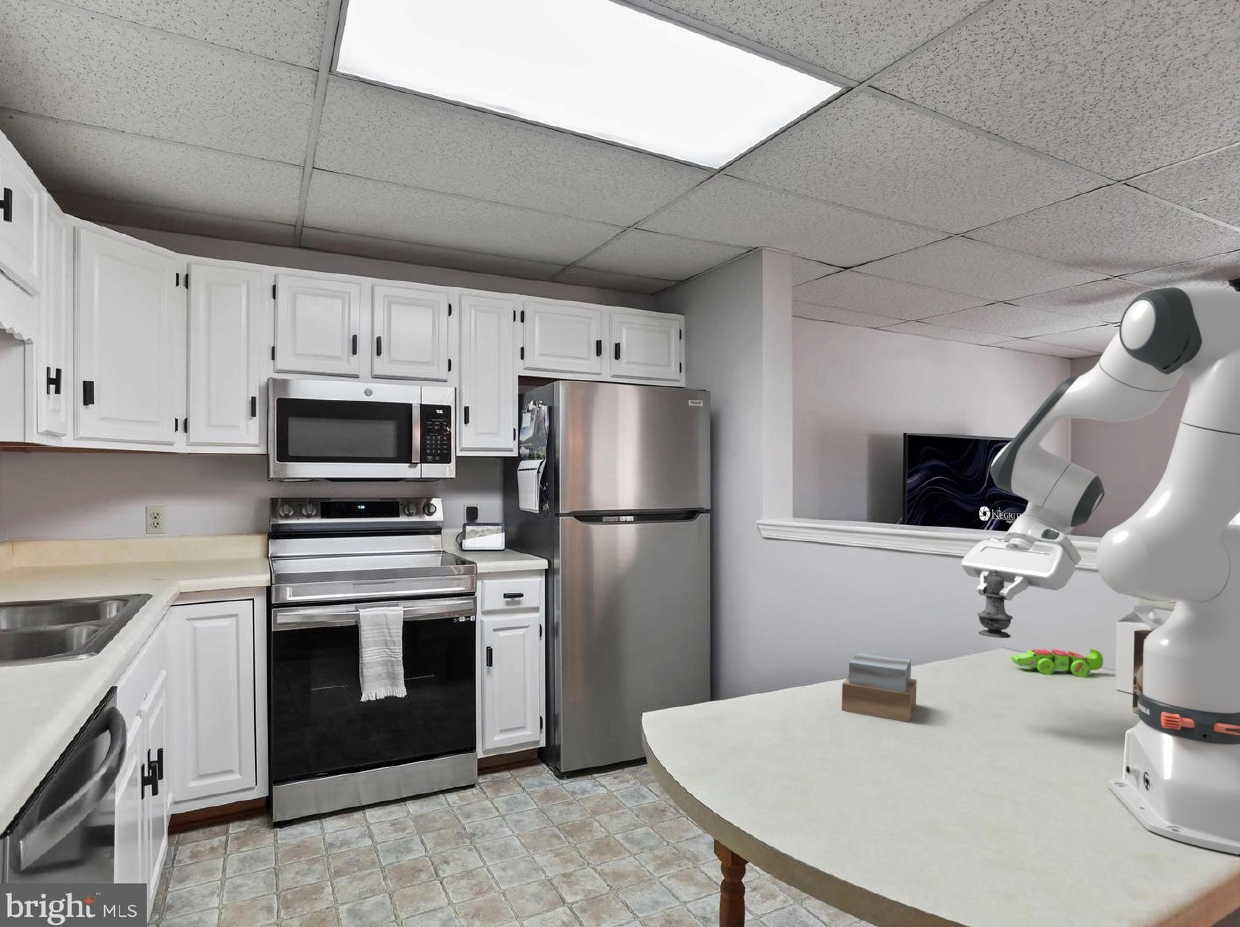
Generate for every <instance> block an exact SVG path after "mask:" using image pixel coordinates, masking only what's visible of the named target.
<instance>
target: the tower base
mask: <svg viewBox="0 0 1240 927" xmlns="http://www.w3.org/2000/svg"><path fill="white" fill-rule="evenodd" d="M848 667H849V668H848V676H847V677H846V678H845V680H844V681H843V682H842V684H841V685H842V686H841V690H842V691H841V711H843V710H845V711H844V712H850V713H856V714H861V715H866V714H869V715H868V716H872V715H874V716H873V717H878V716H879V718H883V717H884V718H885V719H890V720H895V721H896V720H897V721H901V720H902V721H901V722H906V723H909V722H910V721H911V720H912V716H913V714H914V711H915V709H916V706H917V681H918V680H917V679H916V678H912V677H911V674H912V659H911V658H905V657H904V658H903V657H899V656H898V657H896V656H891V655H890V656H888V655H882V654H875V653H874V654H873V653H867V652H860V651H858V652H857V653H856V654H855V655H854V656H853V658H851V659H850V661H849V664H848Z"/></svg>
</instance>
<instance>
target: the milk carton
mask: <svg viewBox="0 0 1240 927" xmlns="http://www.w3.org/2000/svg"><path fill="white" fill-rule="evenodd" d="M1154 606H1155V605H1154V604H1145V605H1144V604H1143V605H1141V604H1140V605H1133V607H1132V610H1133V611H1131V612H1130V613H1127V614H1126V615H1125V616H1123V617H1121V618H1120V619H1119V620H1117V621H1116V630H1115V631H1116V632H1115V635H1116V638H1115V639H1116V640H1115V683H1114V684H1115V686H1114V688H1115V690H1116V691H1121V692H1124V693H1127V694H1130V695H1133V667H1134V631H1137V630H1150V631H1152V630H1155V629H1157V628H1158V627H1160V626H1161V625H1163V624H1164V623H1165V622H1166V621H1167V620H1165V619H1164V618H1163V617H1162V616H1161V615H1160V614H1159V613H1158V612H1157V611H1156V610H1155V608H1154Z"/></svg>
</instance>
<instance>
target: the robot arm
mask: <svg viewBox="0 0 1240 927" xmlns="http://www.w3.org/2000/svg"><path fill="white" fill-rule="evenodd" d="M1118 329H1119V330H1118V331H1117V332H1116V334H1115V335H1114V336H1113V338H1112V339H1111V340H1110V342H1109V344H1108V345H1107V346H1106V348H1105V349H1104V351H1103V353H1102V355H1101V356H1100V358H1099V359H1098V362H1096V364H1095V365H1094V366H1093V367H1092V368H1091V369H1090V370H1089V371H1087V372H1085V373H1083V374H1082V375H1070V376H1068V377H1067V378H1066V379H1065V380H1063V381H1062V382H1061V383H1060V384H1059V385H1057V386H1056V388H1055V389H1054V390H1053V391H1052V392H1051V393H1050V394H1049V396H1048V397H1047V398H1046V399H1045V400H1044V401H1043V403H1041V405H1039V408H1037V410H1036V411H1035V413H1034V414H1033V415H1032V416H1031V417H1030V419H1029V420H1028V421H1027V422H1026V424H1025V425H1024V426H1023V427H1022V428H1021V429H1020V430H1019V432H1018V433H1017V434H1016V436H1015V437H1014V438H1013V439H1012V440H1010V442H1008V443H1007V444H1006V445H1005V446H1003V448H1001V449H1000V451H999V452H998V453H997V455H995V457H994V459H993V461H992V463H991V465H990V470H989V471H990V475H991V478H992V479H993V482H994V484H995V486H996V487H997V488H999V489H1001V490H1004V491H1005V492H1008V493H1011V494H1012V495H1017V496H1019V497H1021V499H1025V500H1027V501H1029V502H1028V503H1027V506H1026V508H1025V511H1024V512H1023V513H1022V514H1020V515H1018V517H1017V518H1016V519H1015V521H1013V523H1012V525H1011V526H1010V527H1009V529H1008V530H1007V532H1006V533H1005V534H1004V536H1003V538H996V537H990V538H988V539H985V540H981V541H980V542H978V543H977V544H975V545H974V546H973V547H972V548H971V549H970V550H969V551H968V552H967V554H966V555H964V557H963V558H962V559H961V561H960V565H961V567H962V569H963V570H964V572H965V573H966V575H967V576H969V577H972V578H977V579H979V581H980V582H979V585H978V586H977V587H976V590H975V591H976V592H977V593H978V595H979V596H984V597H986V595H984V594H985V593H987V578H988V576H990V575H993V574H994V571H995V570H996V571H997V572H998V573H997V575H999V576H1001V577H1003V579H1004V583H1008V584H1010V585H1009V586H1007V587H1006V586H1004V587H1003V588H1002V591H1000V593H999V595H1000V596H1001V597H1002V599H1004V601H1008V602H1009V601H1013V599H1014V597H1015V596H1016V595H1018V594H1020V593H1022V592H1023V591H1026V590H1027V588H1029V587H1032V588H1038V589H1044V590H1052V591H1058V590H1059V591H1060V590H1061V589H1063V588H1065V587H1066V585H1067V584H1068V582H1069V581H1070V579H1071V578H1072V576H1073V575H1074V573H1075V570H1076V566H1077V565H1078V564H1079V563H1080V562H1081V560H1082V557H1081V554H1080V553H1079V551H1078V549H1077V548H1076V546H1075V544H1073V542H1072V540H1070V538H1069V537H1068V536H1067V535H1068V533H1070V532H1071V531H1073V529H1074V528H1076V527H1078V526H1079V527H1080V526H1082V525H1084V524H1086V523H1087V522H1088V521H1089V519H1090V517H1091V515H1092V513H1093V512H1094V511H1095V510H1096V508H1097V507H1099V505H1100V504H1101V502H1102V501H1103V499H1104V497H1105V494H1106V493H1105V488H1104V484H1103V482H1102V480H1101V478H1100V476H1099V475H1097V474H1095V473H1094V472H1092V471H1091V470H1089V469H1086V468H1084V467H1083V466H1080V465H1078V464H1076V463H1074V462H1071V461H1068V460H1067V459H1064V458H1063V457H1060V456H1058V455H1056V454H1054V453H1052V452H1049V451H1047V450H1046V449H1044V448H1043V447H1042V446H1041V445H1040V443H1041V442H1042V441H1043V440H1044V438H1046V436H1047V435H1048V434H1049V433H1050V432H1051V430H1052V429H1054V427H1055V426H1056V425H1057V424H1058V423H1059V422H1061V421H1063V420H1067V419H1083V420H1084V419H1085V420H1086V419H1087V420H1094V421H1102V422H1110V423H1111V422H1112V423H1120V422H1121V423H1123V422H1131V421H1135V420H1139V419H1143V418H1145V417H1147V416H1149V415H1152V414H1153V413H1155V412H1156V411H1157V409H1158V408H1160V406H1161V405H1162V404H1163V403H1164V402H1165V400H1167V399H1168V397H1169V395H1170V394H1171V393H1172V391H1173V390H1174V389H1175V387H1176V386H1177V384H1178V382H1179V380H1180V379H1181V377H1182V375H1183V374H1184V375H1185V376H1186V378H1187V380H1188V383H1189V389H1188V390H1189V391H1188V397H1187V400H1186V402H1185V405H1184V408H1183V410H1182V415H1181V418H1180V423H1179V426H1178V429H1177V433H1176V437H1175V439H1174V440H1175V441H1174V443H1173V447H1172V449H1171V453H1170V456H1169V460H1168V463H1167V465H1166V469H1165V471H1164V473H1163V475H1162V477H1161V479H1160V481H1159V483H1158V484H1157V486H1156V487H1155V489H1153V492H1152V493H1151V494H1150V495H1149V497H1148V498H1147V499H1146V501H1145V502H1144V503H1143V504H1142V505H1141V506H1140V507H1139V508H1138V510H1137V511H1135V512H1134V514H1133V515H1131V516H1130V517H1129V518H1128V519H1126V520H1125V521H1123V522H1121V523H1120V524H1119V525H1117V526H1115V527H1113V528H1111V529H1109V530H1108V531H1106V533H1105V534H1103V536H1102V537H1101V539H1100V541H1099V543H1098V544H1097V548H1096V551H1095V564H1096V568H1097V571H1098V573H1099V576H1100V577H1101V579H1102V580H1103V581H1104V584H1106V586H1108V588H1110V589H1111V590H1112V591H1114V592H1116V593H1118V594H1121V595H1126V596H1129V597H1133V598H1137V599H1143V600H1146V601H1153V602H1176V603H1175V605H1174V608H1173V610H1172V612H1171V614H1170V615H1169V617H1168V618H1167V620H1165V621H1166V622H1165V623H1164V624H1163V625H1161V626H1160V627H1158V628H1157V629H1155V630H1154V631H1152V632H1151V633H1150V634H1149V635H1148V636H1147V638H1146V639H1145V642H1144V651H1143V691H1142V692H1140V693H1139V700H1138V713H1137V716H1138V718H1139V721H1138V722H1137V724H1135V725H1134V726H1133V727H1130V728H1129V729H1128V730H1126V731H1125V738H1124V750H1123V764H1122V765H1123V766H1122V767H1123V768H1122V777H1116V778H1115V777H1114V778H1110V779H1109V780H1108V784H1107V785H1108V788H1109V789H1110V791H1111V792H1113V794H1114V795H1115V796H1116V797H1117V798H1118V799H1119V800H1120V801H1121V802H1122V803H1123V805H1124V806H1125V807H1126V808H1127V809H1128V810H1129V812H1131V814H1133V816H1134V817H1135V818H1136V819H1137V820H1138V822H1140V823H1141V824H1142V825H1143V826H1144V827H1145V829H1147V830H1148V831H1150V832H1152V833H1155V834H1158V835H1161V836H1163V837H1165V838H1166V837H1167V838H1170V839H1171V840H1172V839H1173V840H1176V841H1179V842H1182V843H1186V844H1190V845H1193V846H1198V847H1201V848H1206V849H1211V850H1215V851H1219V852H1224V853H1228V854H1234V855H1239V854H1240V524H1230V522H1231V521H1232V520H1233V519H1234V518H1235V517H1236V516H1237V515H1238V514H1239V513H1240V291H1236V290H1230V289H1229V290H1228V289H1226V288H1217V287H1216V288H1215V287H1213V288H1210V287H1204V288H1203V287H1202V288H1201V287H1200V288H1199V287H1197V288H1196V287H1195V288H1192V287H1191V288H1178V287H1163V288H1155V289H1150V290H1148V291H1144V292H1142V293H1140V294H1139V295H1137V296H1136V297H1134V299H1133V300H1132V301H1131V302H1130V303H1129V305H1127V307H1126V309H1125V310H1124V312H1123V314H1122V317H1121V319H1120V323H1119V328H1118Z"/></svg>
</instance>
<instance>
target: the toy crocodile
mask: <svg viewBox="0 0 1240 927" xmlns="http://www.w3.org/2000/svg"><path fill="white" fill-rule="evenodd" d="M1089 649H1090V650H1089V651H1090V652H1089V654H1087V655H1081V654H1079V653H1076V652H1073V651H1068V652H1066V651H1065V650H1064V649H1059V650H1058V649H1057V648H1056V649H1052V650H1051V651H1050V650H1047V649H1045V648H1044V649H1041V648H1040V649H1039V648H1038V649H1035V648H1034V649H1031V650H1030V649H1027V650H1026V652H1024V653H1019V654H1011V655H1010V656H1011V657H1010V659H1011V660H1012V662H1013V663H1014V664H1015V665H1017V666H1019V667H1021V668H1031V669H1033V670H1038V672H1039V673H1041V674H1043V675H1046V676H1047V675H1048V676H1049V675H1052V674H1053V673H1054V672H1055V670H1060V671H1067V672H1069V673H1072V675H1074V676H1075V677H1078V678H1087V677H1088V676H1089V675H1090V674H1091V671H1097V670H1100V669H1101V668H1103V666H1104V665H1103V664H1104V657H1103V655H1102V653H1101V652H1100V651H1099V650H1097V649H1094V648H1092V647H1091V648H1089Z"/></svg>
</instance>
